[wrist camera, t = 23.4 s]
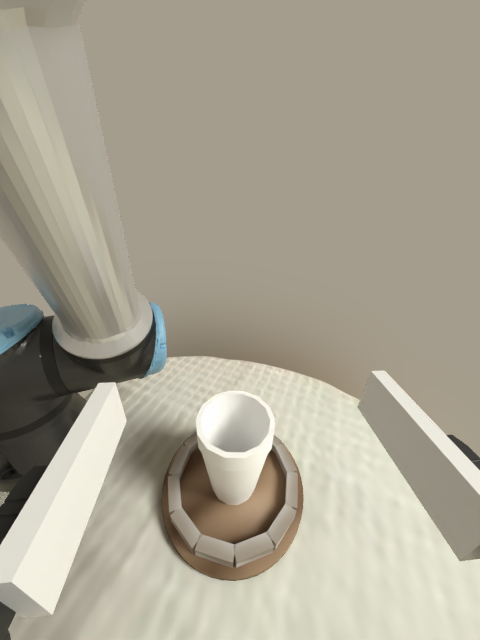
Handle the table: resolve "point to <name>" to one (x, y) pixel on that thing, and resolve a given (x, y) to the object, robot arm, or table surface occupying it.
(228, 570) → the plate
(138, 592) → the table surface
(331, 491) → the table surface
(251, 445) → the foam cup
